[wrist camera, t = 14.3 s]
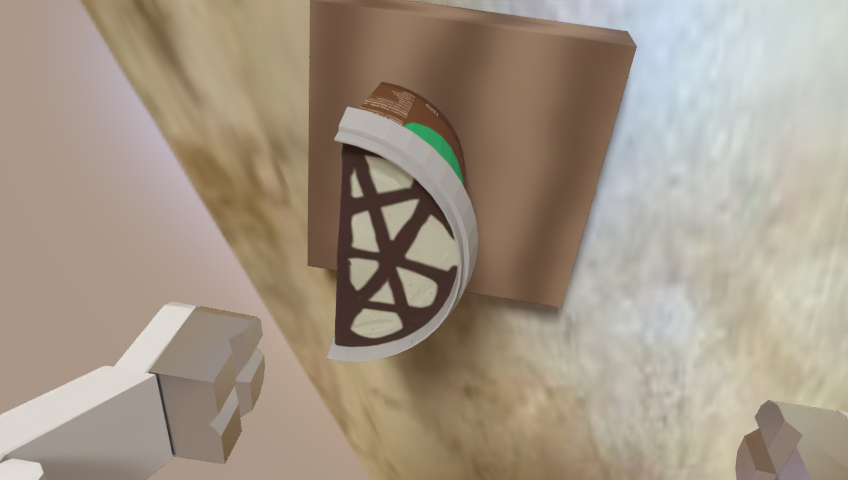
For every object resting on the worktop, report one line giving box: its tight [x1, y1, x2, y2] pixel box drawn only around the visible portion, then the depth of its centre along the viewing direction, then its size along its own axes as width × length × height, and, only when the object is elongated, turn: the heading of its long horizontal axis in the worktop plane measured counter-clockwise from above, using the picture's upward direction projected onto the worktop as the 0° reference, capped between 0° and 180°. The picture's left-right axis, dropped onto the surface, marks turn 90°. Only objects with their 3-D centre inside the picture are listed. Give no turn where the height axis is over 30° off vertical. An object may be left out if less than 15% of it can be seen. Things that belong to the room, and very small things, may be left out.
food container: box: [327, 82, 478, 361], centre depth 30 cm, size 12×6×10 cm, turn 174°
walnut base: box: [308, 0, 637, 308], centre depth 36 cm, size 16×16×3 cm
